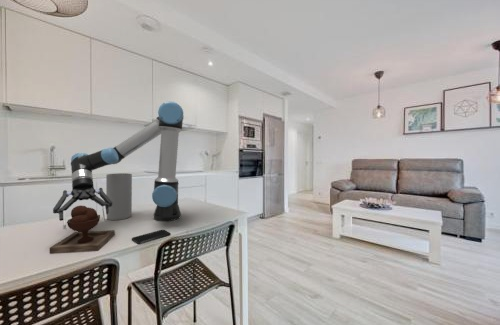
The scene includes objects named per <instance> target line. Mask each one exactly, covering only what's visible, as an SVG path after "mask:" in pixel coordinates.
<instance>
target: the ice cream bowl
mask: <svg viewBox="0 0 500 325" xmlns="http://www.w3.org/2000/svg"><path fill="white" fill-rule="evenodd" d="M70 216H71V218H69V219H67V220H66V225H67V227H68V228H69V229H70V230H71V231H74V232H82V233H83V237H82V238H80V239H79V240H78V242H77V243H79V244H82V243H87V242H90V241H92V240H93V239H94V238H93V237H90V236H88V231H91V230H92V229H94V228H96V227H97V225H98V224H99V222H100V220H101V215H100V214H98V212H97V210H96V209H95V208H92V207H87V206H86V205H77V206H75V207H73V208H72V209H71V211H70Z"/></svg>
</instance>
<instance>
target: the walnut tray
mask: <svg viewBox="0 0 500 325" xmlns="http://www.w3.org/2000/svg"><path fill="white" fill-rule="evenodd" d="M115 235H116V230H115V229H114V230H111V229H110V230H92V231H91V230H89V231H88V236H90V237H93V238H94V239H93V240H92V241H90V242H87V243H82V244H79V243H77V242H78V240H79V239H80V238H82V237H83V233H82V232H78V231H74V232H72V233H71V234H70V235H68V236H66V237H65V238H63V239H61V240H60V241H58V242H56V243H55V244H54V245H52V246H50V247H49V254H51V255H52V254H65V253H81V252H82V253H84V252H96V251H97V252H98V251H99V250H100V249H101V248H103V246H105V245H106V244H107V243H108V242H109V241H110V240H111V239H113V237H114V236H115Z"/></svg>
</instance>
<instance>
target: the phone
mask: <svg viewBox="0 0 500 325" xmlns="http://www.w3.org/2000/svg"><path fill="white" fill-rule="evenodd" d="M170 236H171V232H169V231H167V230H165V229H159V230H157V231H152V232H148V233H144V234H140V235H138V236H133V237H131V241H132V242H133V243H135V244H136V245H143V244H146V243H150V242H154V241H156V240H160V239H163V238H166V237H170Z"/></svg>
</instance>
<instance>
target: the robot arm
mask: <svg viewBox="0 0 500 325" xmlns="http://www.w3.org/2000/svg"><path fill="white" fill-rule="evenodd" d="M157 113H158V116H156V118H155V120H154V121H153V122H151V123H150V124H148V125H147V126H145V127H143V128H142V129H141V130H139V131H138V132H135V133H134V134H132V135H131V136H130V137H128V138H127V139H125V140H123V141H122V142H120V143H119V144H117V145H115V146H114V147H107V148H104V149H101V150H99V151H96V152H93V153H91V154H88V153H85V152H81V153H80V152H78V153H75V154H73V155H72V156H71V158H70V160H71V161H70V167H71V188H72V190H71V191H67V190H66V189H65V190H63V191H62V195H61V197H60V198H59V199H58V201H57V202H56V204H55V205H54V207H53V209H52V213H53V214H58V215H59V216H58V217H59V221H62V222H63V224H62V227H63V230H64V229H67V210H68V209H70V207H71V206H72V205H74V203H76V202H77V201H84V200H86V201H88V200H90V201H94V202H95V203H96V204H98V205H99V206H101V207H102V216H103V222H104V223H107V221H108V219H107V215H106V214H108V213H109V209H108V207H111V206H112V203H113V202H112V201H111V200H110V199H109V198H108V196H107V195H106V193H105V192H104V190H103V188H102V187H99V188H98V189H96V188H95V187H94V179H93V171H94V170H98V169H100V168H103V167H106V166H110V165H111V166H112V165H117V164H119V163H120V162H122V160H124V159H125V158H126V157H128V156H130V155H131V154H132V153H134V152H136V151H138V150H139V149H141V148H142V147H143V146H145V145H146V144H148V143H149V142H151V141H152V140H154V139H155V138H158V136H160V144H159V145H160V146H159V147H160V148H159V161H158V172H157V177H156V178H155V179H154V184H153V191H152V194H151V197H152V202H154V204H155V206H156V207H155V209H154V212H153V219H154V220H155V221H158V222H160V221H161V222H169V220H170V221H173V220H174V219H175V220H177V218H178V219H180V218H181V217H182V211H181V209H180V207H179V206H180V205H179V179H178V178H176V174H177V172H176V171H177V162H178V161H177V160H178V147H179V135H180V134H179V133H181V131H183V123H184V122H183V121H184V109H183V108H182V106H180V104H178V103H177V102H175V101H170V100H169V101H168V100H167V101H164V102H163V103H161V104H160V106H159V107H158V110H157ZM97 195H98V196H97ZM70 196H72V197H70ZM99 196H100V197H101V198H100V197H99ZM69 197H70V199H69V200H68V201H67V202H65V201H66V200H67V198H69ZM64 203H65V204H64ZM180 216H181V217H180ZM179 217H180V218H179ZM175 220H174V221H175Z"/></svg>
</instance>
